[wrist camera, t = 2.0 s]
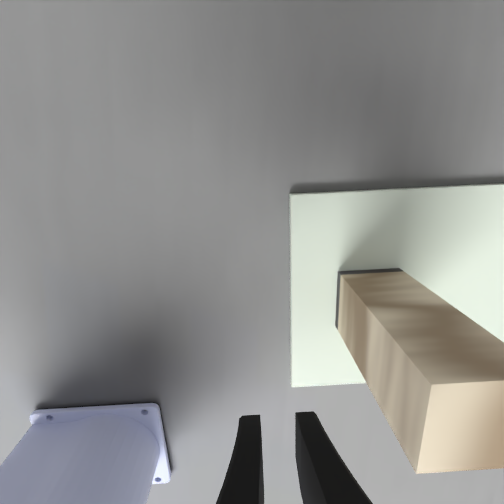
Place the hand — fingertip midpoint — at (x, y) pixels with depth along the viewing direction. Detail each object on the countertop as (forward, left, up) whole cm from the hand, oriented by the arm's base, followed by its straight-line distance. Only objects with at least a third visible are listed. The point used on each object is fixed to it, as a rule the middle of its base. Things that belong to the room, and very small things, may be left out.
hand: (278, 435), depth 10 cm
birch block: (+7, 0, -10) cm, 12 cm away
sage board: (+10, 0, -10) cm, 14 cm away
